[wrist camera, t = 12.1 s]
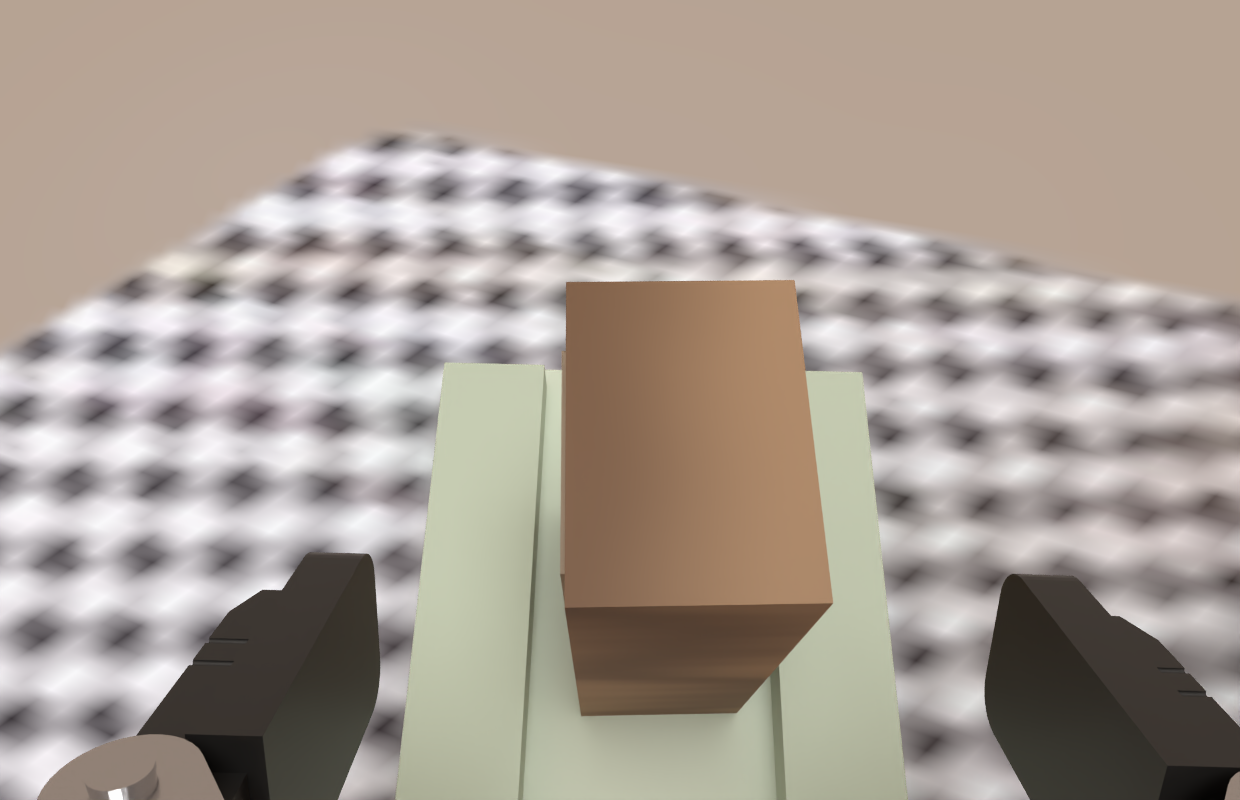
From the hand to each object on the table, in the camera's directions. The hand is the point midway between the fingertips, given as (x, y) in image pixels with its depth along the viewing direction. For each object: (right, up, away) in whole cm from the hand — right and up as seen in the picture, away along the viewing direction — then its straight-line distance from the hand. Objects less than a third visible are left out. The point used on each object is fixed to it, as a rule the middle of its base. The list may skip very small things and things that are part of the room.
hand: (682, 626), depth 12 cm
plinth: (0, -2, +12) cm, 12 cm away
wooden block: (0, -2, +10) cm, 10 cm away
